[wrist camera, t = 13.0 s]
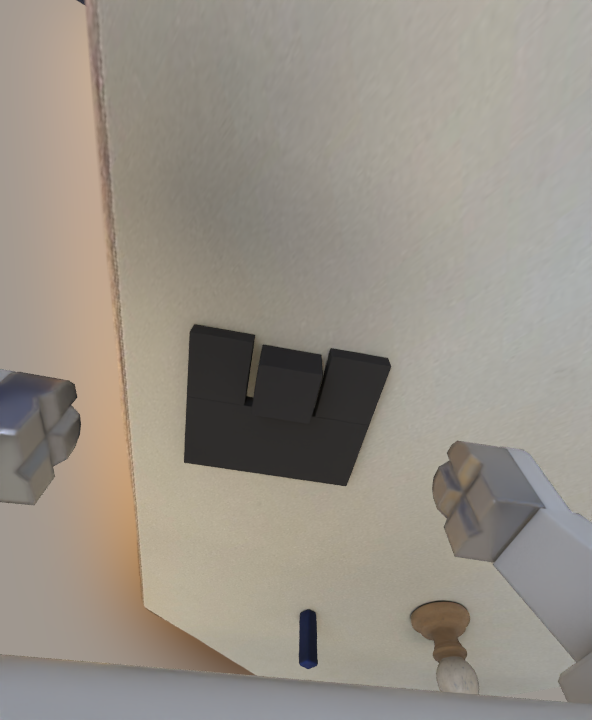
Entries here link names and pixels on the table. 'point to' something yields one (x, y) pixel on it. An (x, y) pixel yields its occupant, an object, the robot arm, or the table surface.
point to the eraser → (308, 639)
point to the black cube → (287, 384)
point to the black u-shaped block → (270, 435)
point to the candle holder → (447, 644)
